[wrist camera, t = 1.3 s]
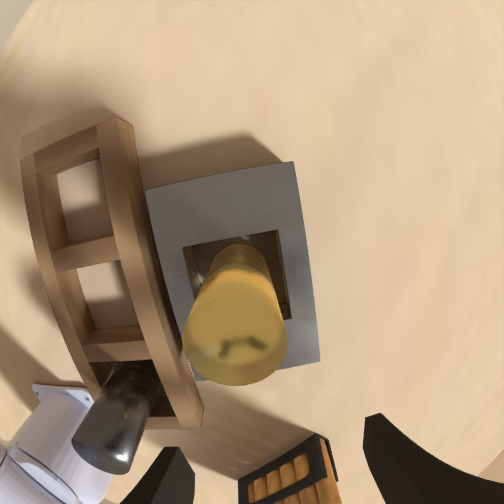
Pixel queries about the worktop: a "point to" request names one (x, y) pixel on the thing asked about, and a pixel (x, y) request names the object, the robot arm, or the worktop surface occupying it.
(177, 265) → the steel socket
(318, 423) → the worktop surface
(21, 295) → the worktop surface
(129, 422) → the black round bar
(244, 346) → the brass round bar
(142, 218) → the walnut rack
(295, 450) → the ammunition clip
